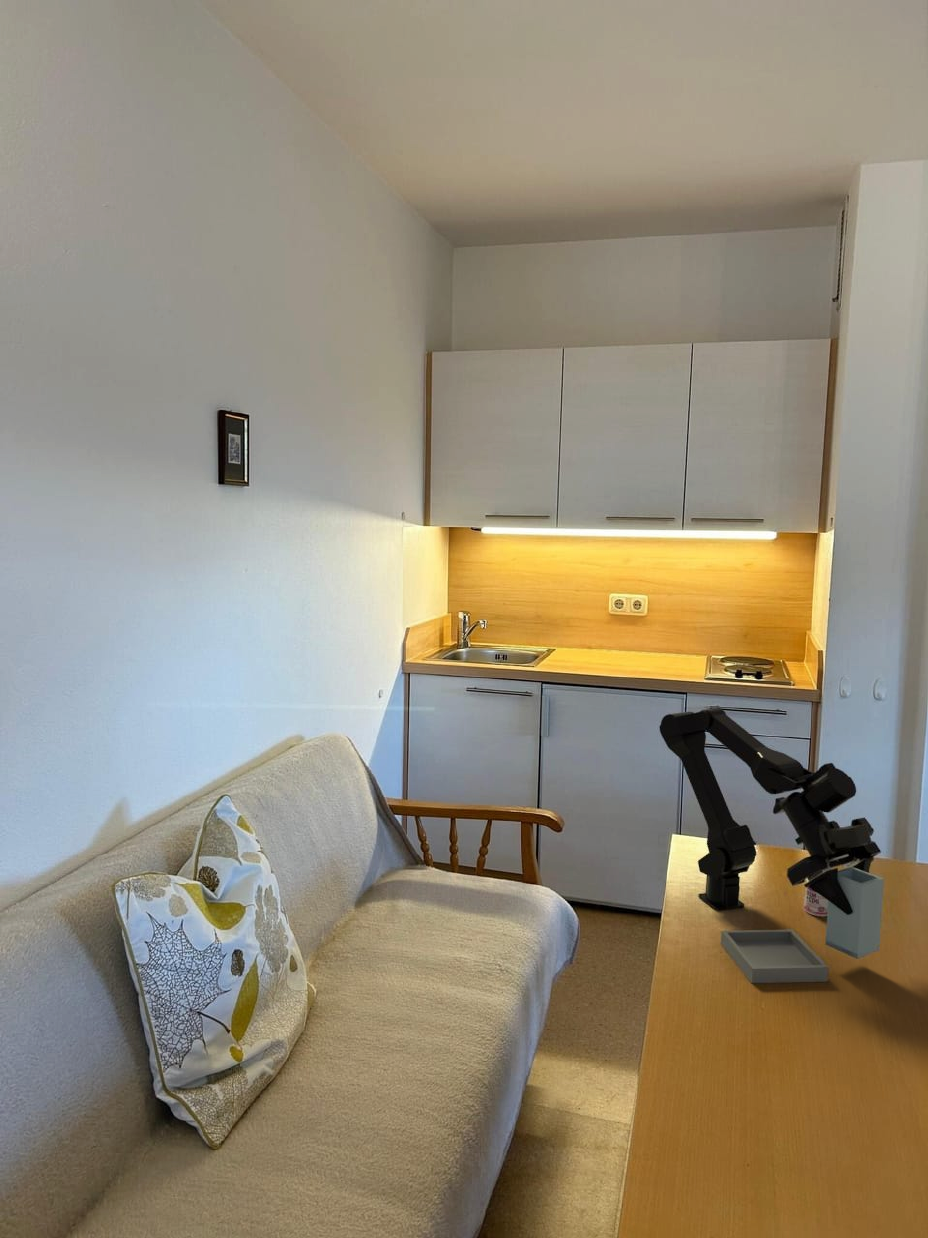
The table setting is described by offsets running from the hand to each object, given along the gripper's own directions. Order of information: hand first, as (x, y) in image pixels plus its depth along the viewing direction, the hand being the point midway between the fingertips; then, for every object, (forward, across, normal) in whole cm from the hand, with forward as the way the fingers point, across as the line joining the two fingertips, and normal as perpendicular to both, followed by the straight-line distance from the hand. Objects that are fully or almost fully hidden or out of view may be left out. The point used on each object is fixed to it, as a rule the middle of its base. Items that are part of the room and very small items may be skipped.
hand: (862, 909), depth 150 cm
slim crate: (+4, 0, +6) cm, 7 cm away
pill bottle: (-5, +14, +20) cm, 25 cm away
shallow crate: (+1, -10, +14) cm, 17 cm away
